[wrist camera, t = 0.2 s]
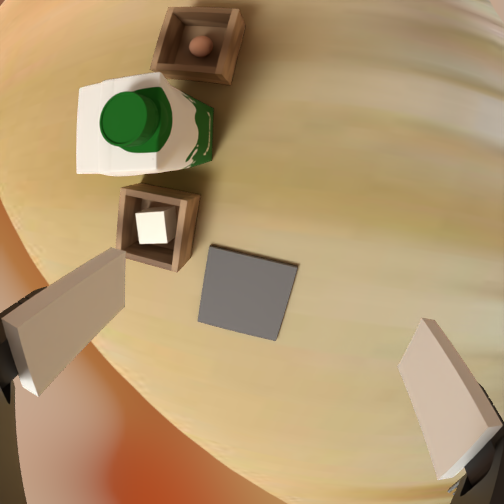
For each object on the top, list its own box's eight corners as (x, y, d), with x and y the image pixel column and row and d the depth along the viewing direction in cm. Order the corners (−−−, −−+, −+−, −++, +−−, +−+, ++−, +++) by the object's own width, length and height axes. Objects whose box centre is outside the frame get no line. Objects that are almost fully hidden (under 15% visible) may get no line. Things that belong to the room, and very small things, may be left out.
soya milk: (218, 167, 38) (151, 180, 19) (154, 168, 39) (54, 184, 20) (221, 101, 35) (156, 54, 16) (156, 105, 36) (58, 78, 17)
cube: (148, 207, 40) (135, 213, 36) (175, 205, 39) (163, 211, 36) (152, 235, 41) (139, 243, 37) (178, 235, 41) (167, 243, 37)
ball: (196, 39, 32) (189, 31, 29) (217, 41, 32) (212, 32, 29) (190, 58, 33) (183, 52, 30) (212, 60, 33) (206, 53, 30)
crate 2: (140, 182, 40) (120, 187, 34) (200, 194, 39) (187, 200, 34) (134, 243, 42) (115, 255, 37) (190, 258, 42) (177, 272, 37)
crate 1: (182, 22, 32) (168, 7, 27) (245, 26, 31) (239, 9, 26) (166, 78, 35) (149, 69, 29) (231, 85, 34) (221, 74, 29)
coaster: (210, 245, 41) (209, 246, 40) (297, 266, 40) (297, 267, 40) (198, 319, 45) (197, 321, 44) (275, 338, 44) (275, 340, 44)
